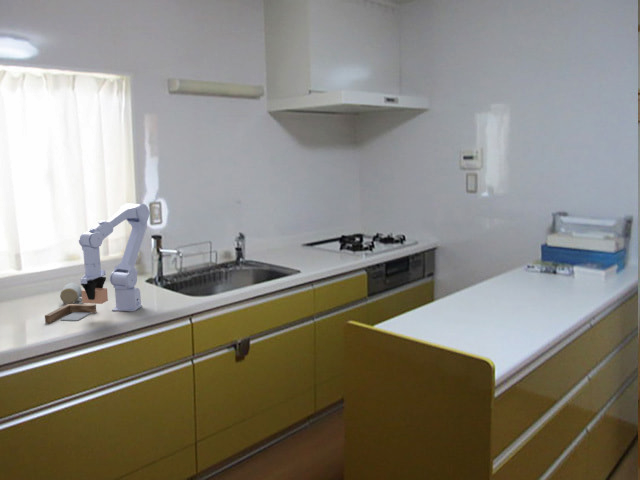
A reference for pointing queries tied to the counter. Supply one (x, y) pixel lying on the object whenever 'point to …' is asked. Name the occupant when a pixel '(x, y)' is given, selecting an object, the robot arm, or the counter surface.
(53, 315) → the brown l-shaped piece
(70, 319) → the mat
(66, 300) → the ceramic mug
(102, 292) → the block
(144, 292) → the counter surface
